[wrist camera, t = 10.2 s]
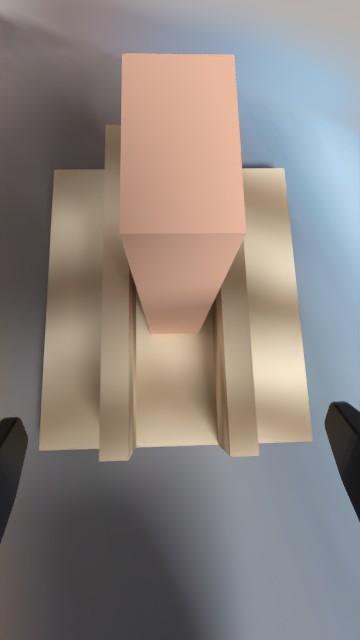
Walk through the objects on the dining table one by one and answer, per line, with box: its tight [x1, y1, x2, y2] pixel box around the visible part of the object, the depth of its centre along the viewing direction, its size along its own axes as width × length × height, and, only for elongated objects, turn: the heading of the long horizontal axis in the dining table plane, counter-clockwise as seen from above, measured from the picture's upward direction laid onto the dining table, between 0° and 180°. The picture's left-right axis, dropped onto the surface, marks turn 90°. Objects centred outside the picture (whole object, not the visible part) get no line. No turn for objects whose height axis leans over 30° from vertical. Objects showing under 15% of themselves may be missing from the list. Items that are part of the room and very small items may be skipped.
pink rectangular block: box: [119, 53, 246, 334], centre depth 13 cm, size 4×3×12 cm, turn 1°
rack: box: [39, 125, 313, 461], centre depth 18 cm, size 16×14×5 cm
